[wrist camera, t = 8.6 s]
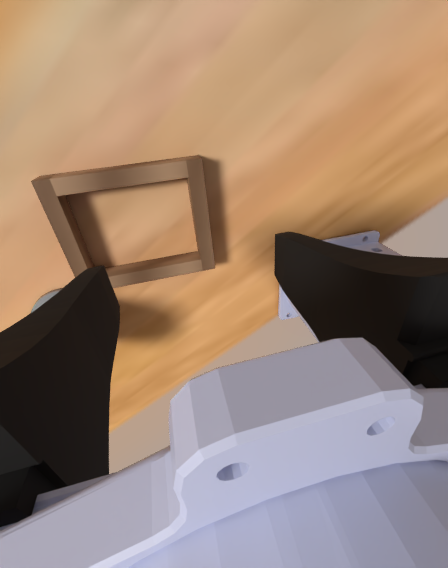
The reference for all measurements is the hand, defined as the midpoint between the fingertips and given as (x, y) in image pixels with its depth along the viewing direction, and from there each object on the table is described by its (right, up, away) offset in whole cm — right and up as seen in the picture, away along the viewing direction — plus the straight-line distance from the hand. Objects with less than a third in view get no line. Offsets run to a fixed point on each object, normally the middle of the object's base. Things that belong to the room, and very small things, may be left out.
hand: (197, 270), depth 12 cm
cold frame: (-5, +4, +8) cm, 10 cm away
